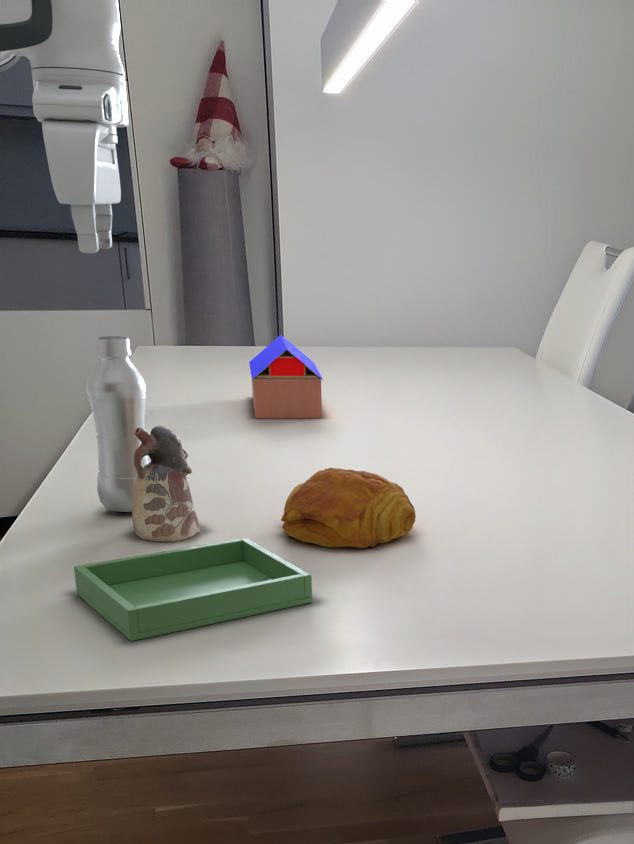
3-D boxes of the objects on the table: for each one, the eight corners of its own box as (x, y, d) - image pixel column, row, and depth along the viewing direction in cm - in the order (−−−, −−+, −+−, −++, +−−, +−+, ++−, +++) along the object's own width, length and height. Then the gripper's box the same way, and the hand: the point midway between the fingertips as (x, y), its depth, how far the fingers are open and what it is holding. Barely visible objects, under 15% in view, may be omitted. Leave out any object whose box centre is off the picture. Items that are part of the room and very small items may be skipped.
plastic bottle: (169, 509, 125) (155, 338, 117) (123, 521, 119) (107, 343, 112) (132, 500, 128) (117, 332, 120) (87, 511, 123) (68, 337, 115)
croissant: (331, 524, 129) (324, 460, 127) (436, 530, 121) (430, 461, 119) (252, 550, 117) (243, 479, 115) (362, 557, 109) (354, 482, 107)
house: (253, 418, 178) (250, 348, 173) (250, 397, 195) (247, 334, 191) (323, 418, 180) (322, 349, 176) (314, 398, 198) (313, 335, 194)
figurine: (207, 537, 115) (201, 430, 111) (143, 545, 112) (133, 434, 107) (188, 520, 121) (181, 417, 116) (126, 527, 117) (117, 421, 113)
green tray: (130, 641, 88) (127, 610, 87) (76, 594, 98) (73, 565, 97) (312, 602, 98) (311, 574, 97) (247, 563, 108) (245, 537, 107)
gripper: (67, 111, 114) (82, 245, 119) (27, 95, 95) (46, 254, 101) (127, 114, 115) (139, 247, 120) (99, 99, 96) (114, 256, 102)
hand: (96, 250), depth 110 cm, fingers open, 8 cm apart
